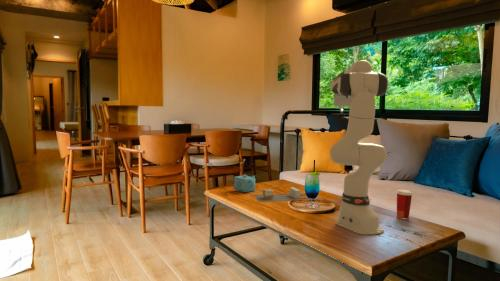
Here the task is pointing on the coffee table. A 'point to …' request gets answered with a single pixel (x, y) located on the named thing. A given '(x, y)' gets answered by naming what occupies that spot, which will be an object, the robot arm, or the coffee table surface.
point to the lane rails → (286, 200)
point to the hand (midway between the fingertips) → (349, 112)
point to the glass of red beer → (403, 203)
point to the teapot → (244, 183)
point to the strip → (293, 195)
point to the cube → (268, 193)
